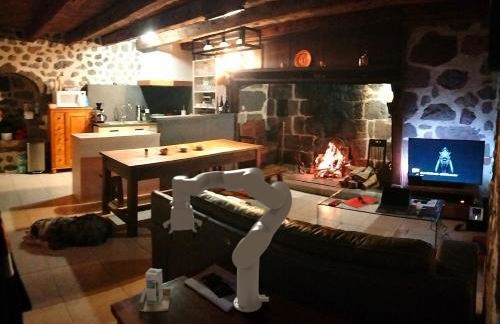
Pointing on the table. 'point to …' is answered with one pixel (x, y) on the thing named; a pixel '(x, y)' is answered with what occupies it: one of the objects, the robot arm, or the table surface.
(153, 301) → the syrup box
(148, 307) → the board
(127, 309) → the table surface
